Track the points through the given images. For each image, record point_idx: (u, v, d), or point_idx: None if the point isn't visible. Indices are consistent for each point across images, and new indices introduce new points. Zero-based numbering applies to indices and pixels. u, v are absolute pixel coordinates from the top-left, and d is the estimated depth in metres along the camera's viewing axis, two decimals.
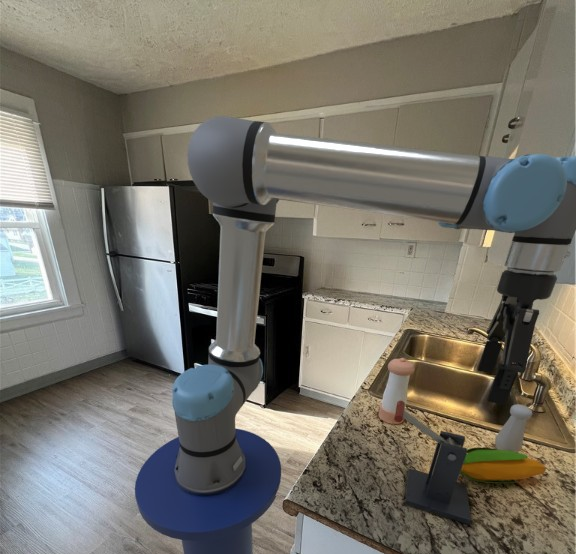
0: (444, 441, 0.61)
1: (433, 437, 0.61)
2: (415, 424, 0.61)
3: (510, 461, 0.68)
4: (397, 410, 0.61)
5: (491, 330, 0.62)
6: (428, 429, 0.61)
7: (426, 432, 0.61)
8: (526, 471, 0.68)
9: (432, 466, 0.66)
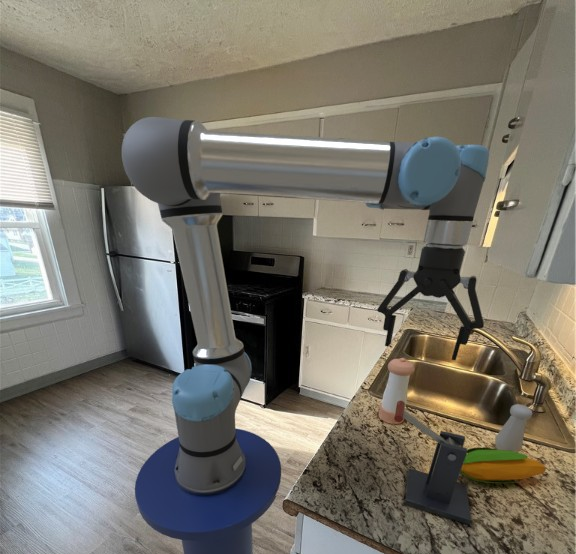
0: (444, 441, 0.61)
1: (433, 437, 0.61)
2: (415, 424, 0.61)
3: (510, 461, 0.68)
4: (397, 410, 0.61)
5: (394, 307, 0.66)
6: (428, 429, 0.61)
7: (426, 432, 0.61)
8: (526, 471, 0.68)
9: (432, 466, 0.66)
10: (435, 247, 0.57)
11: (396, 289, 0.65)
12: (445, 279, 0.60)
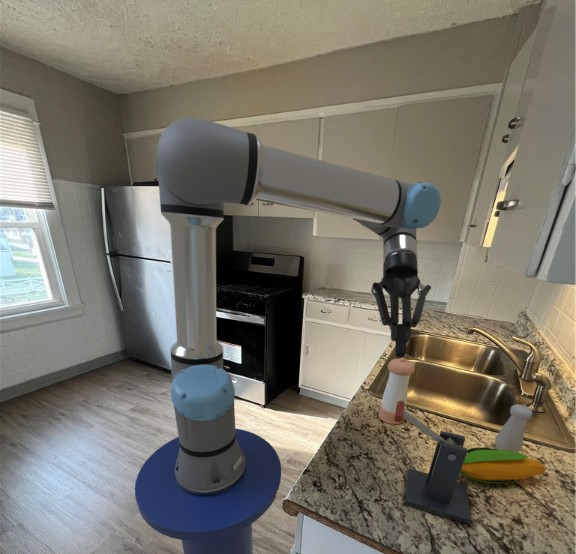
0: (444, 441, 0.61)
1: (433, 437, 0.61)
2: (415, 424, 0.61)
3: (510, 461, 0.68)
4: (397, 410, 0.61)
5: (394, 312, 0.67)
6: (428, 429, 0.61)
7: (426, 432, 0.61)
8: (526, 471, 0.68)
9: (432, 466, 0.66)
10: (398, 252, 0.70)
11: (382, 296, 0.69)
12: (410, 281, 0.70)
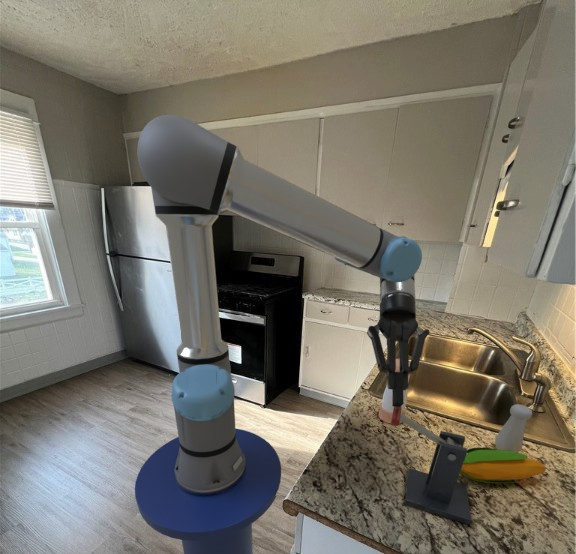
0: (443, 441, 0.61)
1: (432, 438, 0.61)
2: (413, 426, 0.62)
3: (510, 461, 0.68)
4: (393, 414, 0.62)
5: (391, 359, 0.64)
6: (426, 430, 0.62)
7: (424, 434, 0.62)
8: (526, 471, 0.68)
9: (432, 466, 0.66)
10: (395, 294, 0.67)
11: (378, 341, 0.66)
12: None
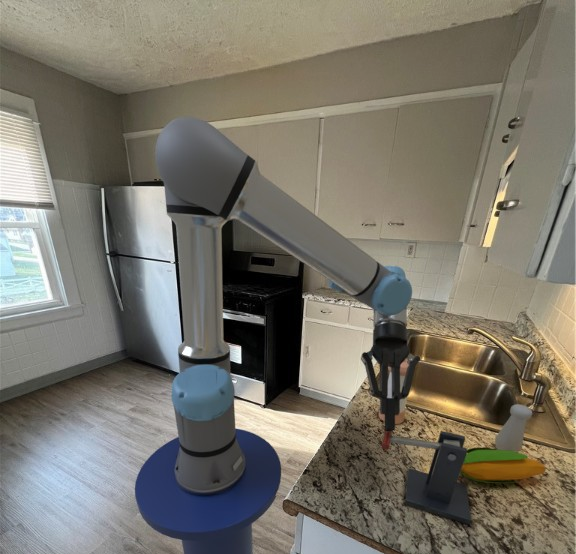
0: None
1: (428, 446, 0.62)
2: (406, 443, 0.64)
3: (510, 461, 0.68)
4: (383, 439, 0.65)
5: (383, 385, 0.67)
6: (419, 441, 0.63)
7: (419, 445, 0.63)
8: (526, 471, 0.68)
9: (432, 466, 0.66)
10: (387, 322, 0.70)
11: (371, 367, 0.69)
12: None
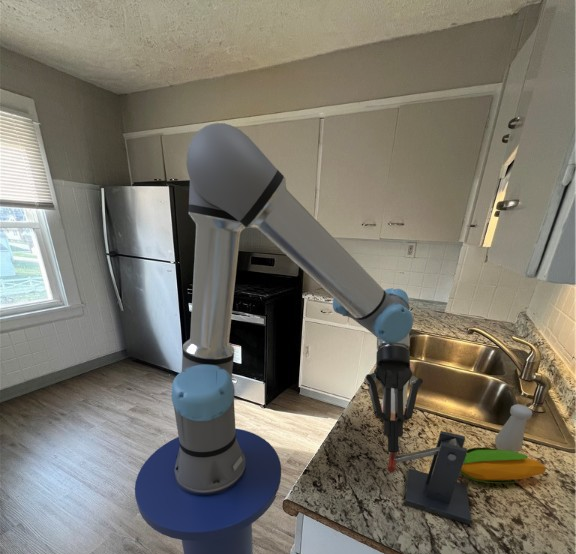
0: None
1: (430, 454, 0.63)
2: (410, 458, 0.65)
3: (510, 461, 0.68)
4: (388, 462, 0.67)
5: (386, 407, 0.69)
6: (421, 452, 0.64)
7: (422, 456, 0.64)
8: (526, 471, 0.68)
9: (432, 466, 0.66)
10: (390, 345, 0.72)
11: (375, 389, 0.70)
12: (403, 373, 0.71)
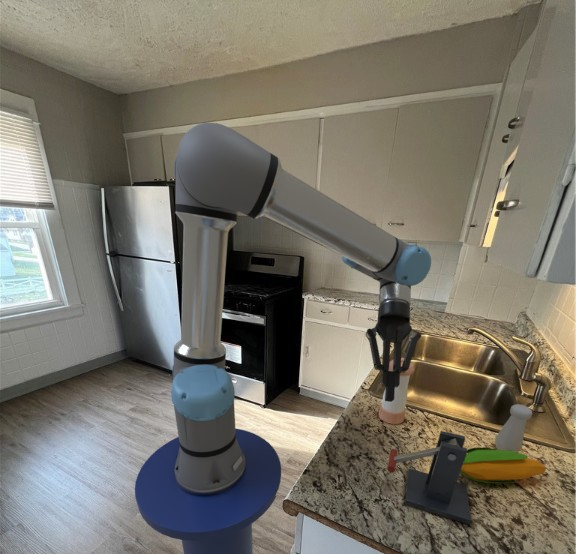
0: None
1: (430, 454, 0.63)
2: (410, 458, 0.65)
3: (510, 461, 0.68)
4: (388, 462, 0.67)
5: (385, 359, 0.73)
6: (421, 452, 0.64)
7: (422, 456, 0.64)
8: (526, 471, 0.68)
9: (432, 466, 0.66)
10: (392, 301, 0.75)
11: (375, 343, 0.74)
12: (402, 328, 0.74)
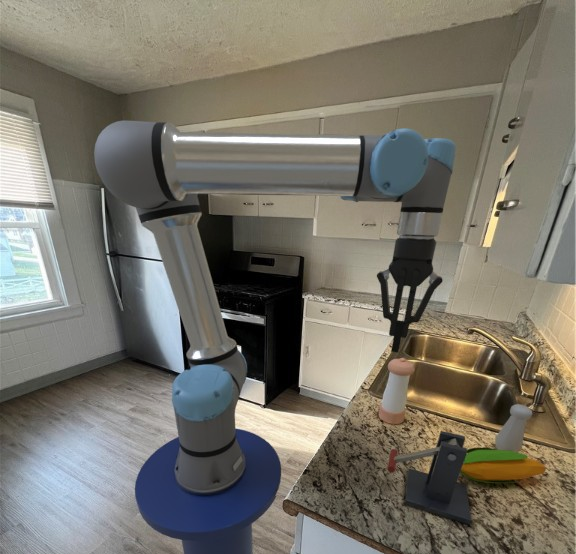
0: None
1: (430, 454, 0.63)
2: (410, 458, 0.65)
3: (510, 461, 0.68)
4: (388, 462, 0.67)
5: (394, 310, 0.67)
6: (421, 452, 0.64)
7: (422, 456, 0.64)
8: (526, 471, 0.68)
9: (432, 466, 0.66)
10: (409, 238, 0.59)
11: (385, 290, 0.66)
12: (420, 271, 0.62)
